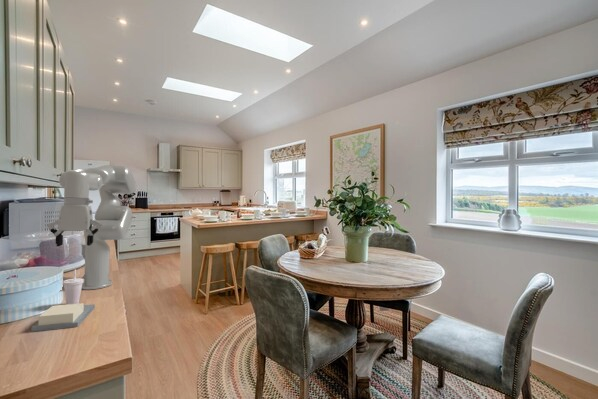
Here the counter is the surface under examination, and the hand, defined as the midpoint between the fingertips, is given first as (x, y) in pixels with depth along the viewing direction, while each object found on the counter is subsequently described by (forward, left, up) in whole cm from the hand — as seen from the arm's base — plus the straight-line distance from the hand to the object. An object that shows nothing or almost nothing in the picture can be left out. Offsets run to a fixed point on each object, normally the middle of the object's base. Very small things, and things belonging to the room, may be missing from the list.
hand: (74, 245), depth 107 cm
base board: (+14, +3, -24) cm, 28 cm away
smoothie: (0, 0, -24) cm, 24 cm away
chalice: (-39, -7, -24) cm, 46 cm away
